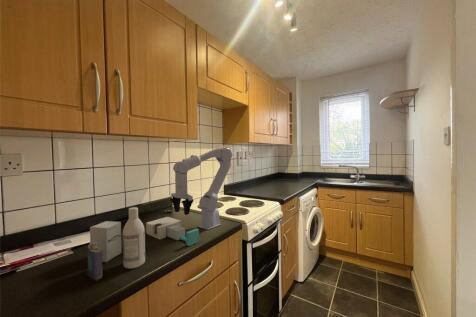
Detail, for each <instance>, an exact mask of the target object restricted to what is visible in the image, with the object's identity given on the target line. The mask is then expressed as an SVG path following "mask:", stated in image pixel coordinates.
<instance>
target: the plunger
mask: <svg viewBox="0 0 476 317" xmlns="http://www.w3.org/2000/svg"><path fill="white" fill-rule="evenodd" d="M158 226H161V224H160V223H158V224H155V234H157V227H158Z"/></svg>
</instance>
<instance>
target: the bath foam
mask: <svg viewBox="0 0 476 317" xmlns="http://www.w3.org/2000/svg"><path fill="white" fill-rule="evenodd" d="M145 235H146V231H145V226H144V223H143V222H142V220H141V219H140V217H139V208H138V207H136V206H132V207H129V208H128V220H127V221H126V223H125V225H124V226H123V229H122V254H123V255H122V260H123V267H124V268H125V269H131V270H132V269H136V268H140V266H141V267H142V266H143V265H144V264H145V262H146V236H145Z"/></svg>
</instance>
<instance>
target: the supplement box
mask: <svg viewBox="0 0 476 317" xmlns="http://www.w3.org/2000/svg"><path fill="white" fill-rule="evenodd" d="M91 242H94V243H96V242H97V244H96V245H97V247H98V248H100V249H102V263H108V262H109V261H110V260H112V259H113V258H115V257H117V256H119V255H120V254H122V221H109V220H106V221H105V220H104V221H103V222H99V223H98V224H95V225H92V226H90V227H89V244H90V243H91ZM91 244H92V243H91Z"/></svg>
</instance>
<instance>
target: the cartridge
mask: <svg viewBox="0 0 476 317" xmlns="http://www.w3.org/2000/svg"><path fill="white" fill-rule="evenodd" d="M199 229H200V228H194V229H191V230H188V231H186V228H185V227H182V226H181V227H180V226H177V225H171V226H168V227H166V237H168V238H171V239H173V240H176V241H179V240H181V241H184V242H185V245H186V246H187V247H191V246H192V245H195V244H198V242H199V243H200V230H199Z"/></svg>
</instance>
